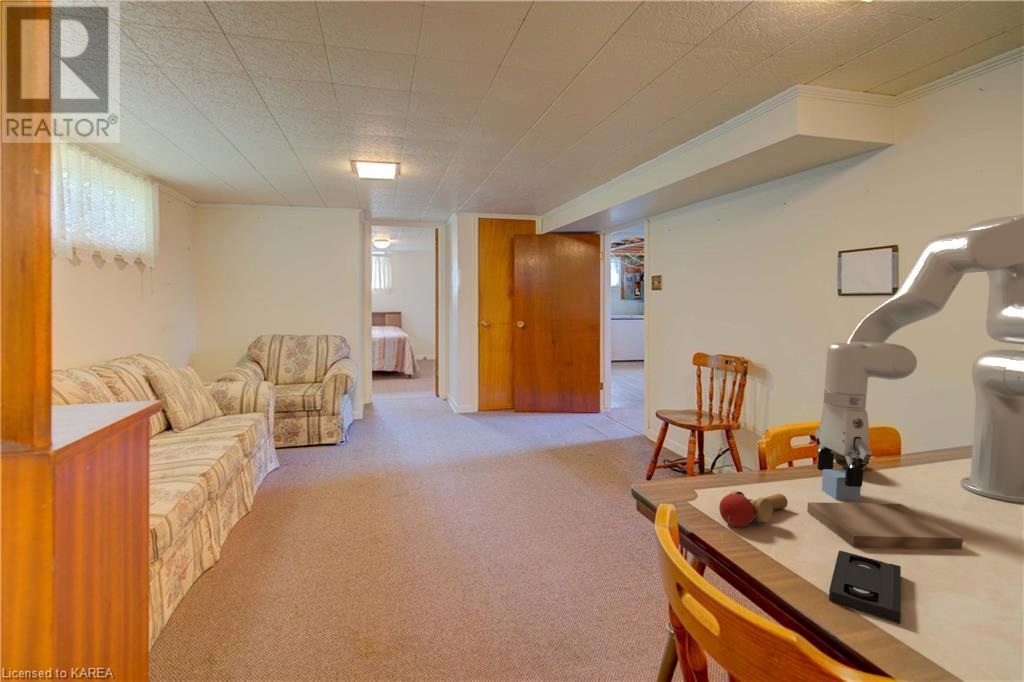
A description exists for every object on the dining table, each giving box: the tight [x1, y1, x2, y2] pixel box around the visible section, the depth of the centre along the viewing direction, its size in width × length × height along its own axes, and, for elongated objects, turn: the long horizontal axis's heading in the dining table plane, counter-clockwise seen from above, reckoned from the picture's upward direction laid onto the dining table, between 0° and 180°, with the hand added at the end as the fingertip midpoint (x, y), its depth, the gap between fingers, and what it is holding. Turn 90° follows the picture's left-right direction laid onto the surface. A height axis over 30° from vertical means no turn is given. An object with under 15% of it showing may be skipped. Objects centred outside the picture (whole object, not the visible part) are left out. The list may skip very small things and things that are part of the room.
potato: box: [831, 451, 856, 469], centre depth 121 cm, size 8×13×8 cm, turn 127°
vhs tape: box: [828, 550, 902, 625], centre depth 71 cm, size 14×8×2 cm, turn 141°
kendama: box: [718, 490, 788, 528], centre depth 95 cm, size 8×6×18 cm
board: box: [807, 501, 964, 550], centre depth 89 cm, size 18×14×2 cm
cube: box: [821, 468, 862, 501], centre depth 105 cm, size 5×5×5 cm
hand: (838, 477), depth 105 cm, fingers open, 9 cm apart
